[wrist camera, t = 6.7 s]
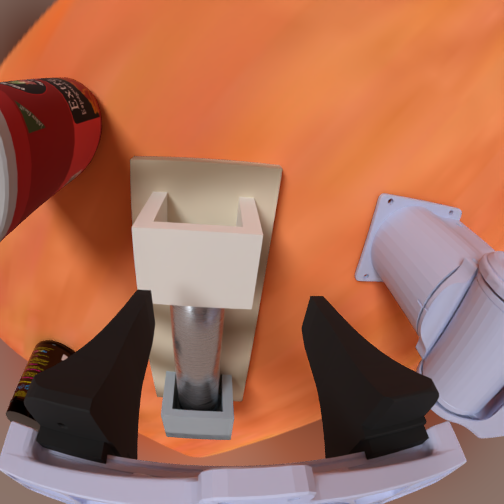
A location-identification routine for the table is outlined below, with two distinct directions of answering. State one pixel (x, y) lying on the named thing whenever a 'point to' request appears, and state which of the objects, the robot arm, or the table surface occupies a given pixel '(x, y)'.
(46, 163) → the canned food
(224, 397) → the socket
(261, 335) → the table surface
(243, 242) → the sleeve
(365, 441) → the robot arm
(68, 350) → the supplement container
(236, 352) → the board
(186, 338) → the tube
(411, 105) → the table surface
